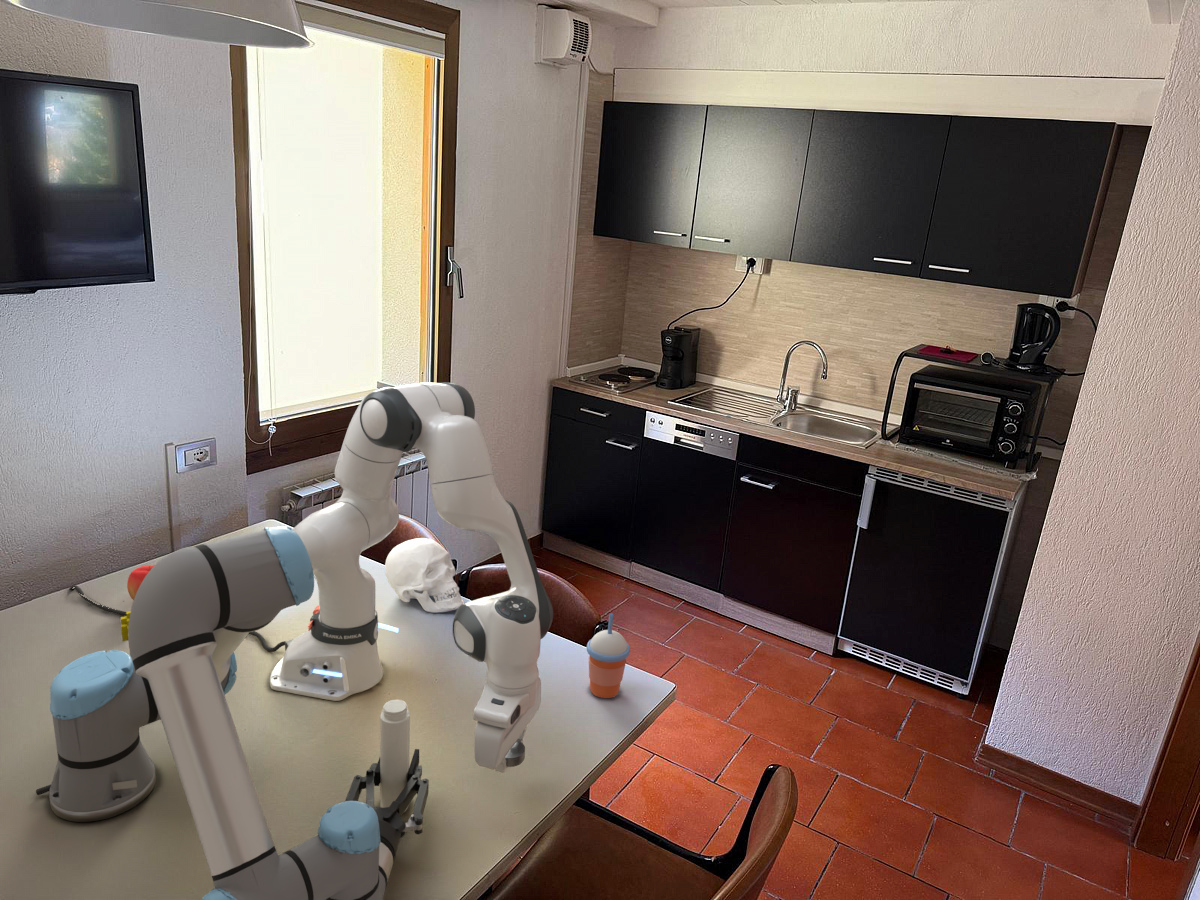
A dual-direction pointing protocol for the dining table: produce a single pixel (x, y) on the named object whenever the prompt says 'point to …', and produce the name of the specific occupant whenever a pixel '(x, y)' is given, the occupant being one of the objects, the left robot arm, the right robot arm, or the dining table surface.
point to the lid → (516, 754)
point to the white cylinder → (393, 750)
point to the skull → (423, 574)
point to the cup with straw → (607, 661)
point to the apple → (137, 579)
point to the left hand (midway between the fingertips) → (401, 755)
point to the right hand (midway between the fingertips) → (508, 758)
